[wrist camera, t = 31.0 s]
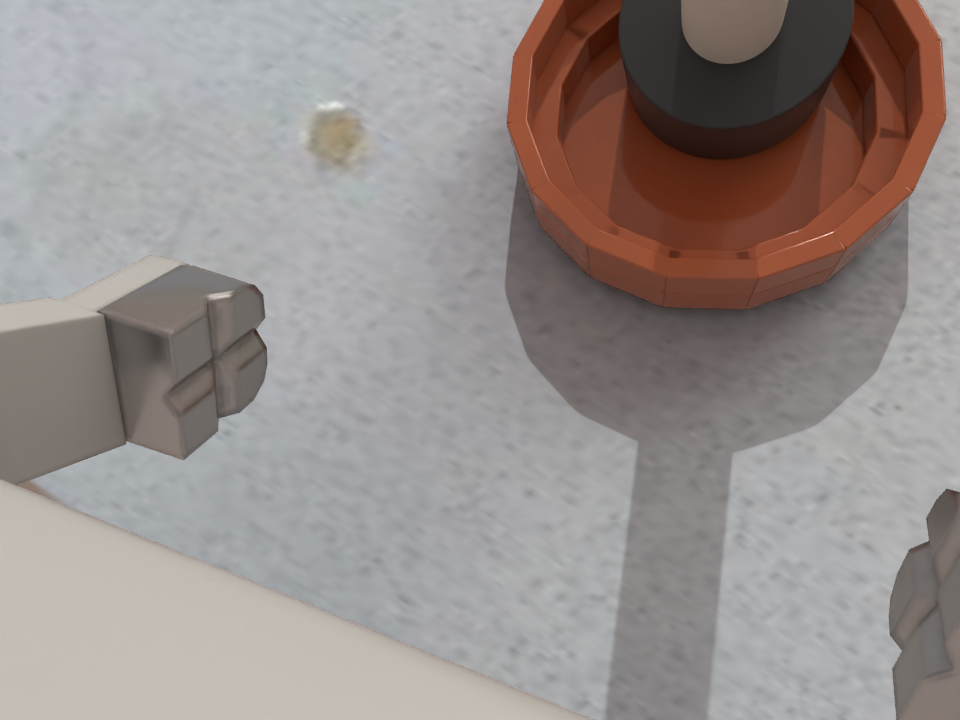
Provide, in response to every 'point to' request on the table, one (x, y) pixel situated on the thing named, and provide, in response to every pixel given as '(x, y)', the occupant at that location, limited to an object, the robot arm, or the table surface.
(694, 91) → the brush
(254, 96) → the table surface
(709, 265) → the dish
